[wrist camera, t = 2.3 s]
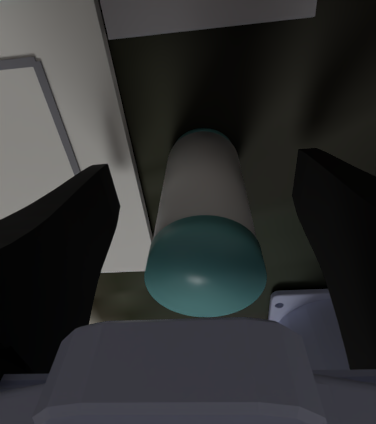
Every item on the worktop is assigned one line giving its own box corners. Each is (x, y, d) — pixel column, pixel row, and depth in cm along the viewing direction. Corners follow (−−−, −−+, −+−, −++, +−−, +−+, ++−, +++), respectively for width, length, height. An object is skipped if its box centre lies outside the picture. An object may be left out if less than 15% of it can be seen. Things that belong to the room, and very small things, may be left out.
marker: (238, 186, 14) (263, 315, 8) (172, 190, 14) (155, 318, 9) (238, 121, 12) (270, 233, 6) (162, 127, 12) (132, 240, 7)
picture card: (158, 263, 17) (157, 271, 17) (-4, 271, 18) (-9, 278, 18) (58, -170, 8) (49, -181, 7) (-280, -110, 8) (-309, -116, 8)
